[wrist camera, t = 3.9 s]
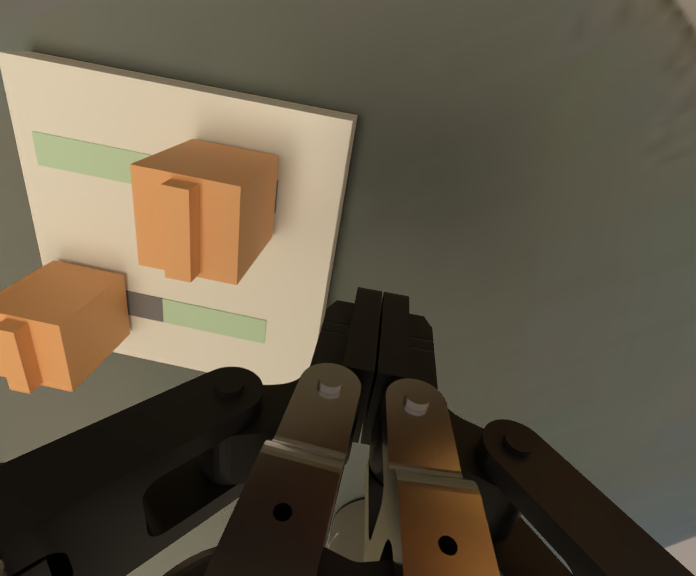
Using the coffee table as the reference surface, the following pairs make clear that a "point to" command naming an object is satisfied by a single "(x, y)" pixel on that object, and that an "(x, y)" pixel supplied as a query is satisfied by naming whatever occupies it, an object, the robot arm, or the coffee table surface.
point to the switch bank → (118, 211)
